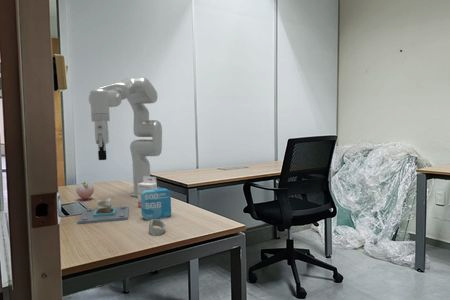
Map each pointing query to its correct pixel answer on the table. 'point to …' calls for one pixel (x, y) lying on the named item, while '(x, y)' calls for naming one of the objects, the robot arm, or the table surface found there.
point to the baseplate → (104, 215)
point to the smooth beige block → (104, 206)
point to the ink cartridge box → (146, 186)
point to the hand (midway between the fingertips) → (102, 159)
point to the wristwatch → (155, 230)
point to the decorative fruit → (85, 190)
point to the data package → (155, 203)
